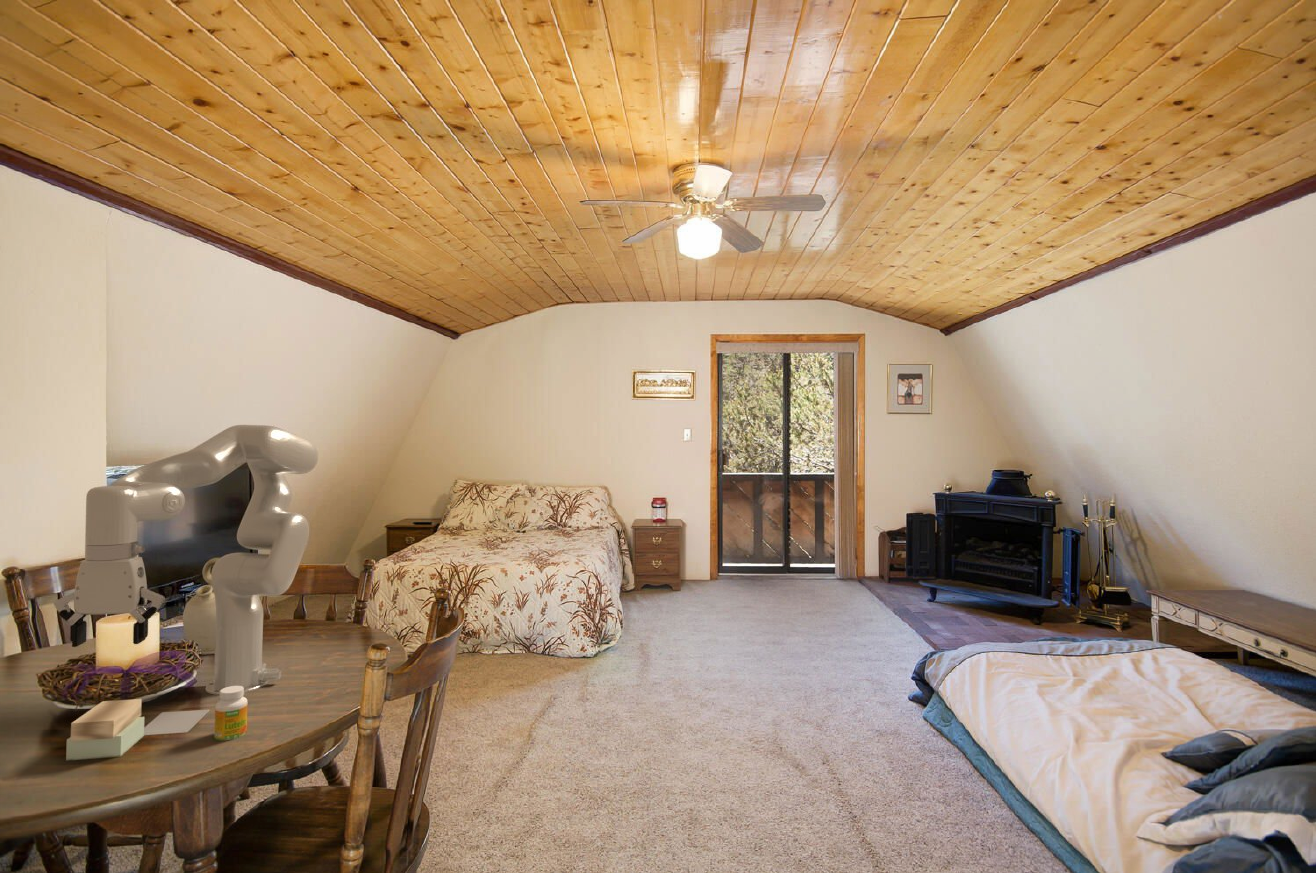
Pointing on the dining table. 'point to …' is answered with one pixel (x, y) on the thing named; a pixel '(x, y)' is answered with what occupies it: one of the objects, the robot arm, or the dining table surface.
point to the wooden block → (106, 720)
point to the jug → (202, 614)
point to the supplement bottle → (231, 714)
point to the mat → (174, 722)
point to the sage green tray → (106, 743)
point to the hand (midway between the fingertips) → (109, 643)
